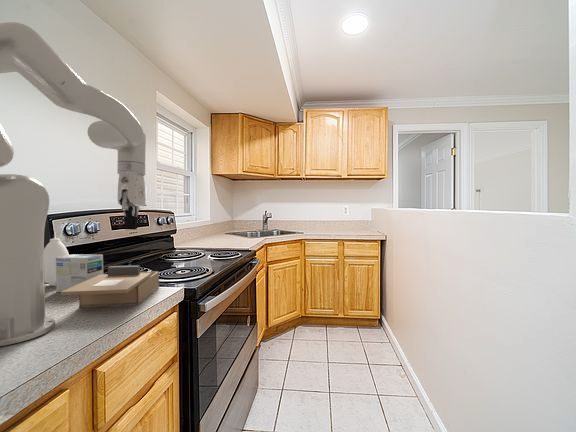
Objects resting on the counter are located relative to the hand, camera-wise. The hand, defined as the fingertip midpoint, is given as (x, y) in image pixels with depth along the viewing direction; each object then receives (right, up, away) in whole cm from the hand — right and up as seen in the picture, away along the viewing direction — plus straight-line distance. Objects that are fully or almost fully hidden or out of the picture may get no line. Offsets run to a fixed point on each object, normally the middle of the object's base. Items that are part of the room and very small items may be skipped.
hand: (130, 229), depth 89 cm
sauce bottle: (-28, -19, +6) cm, 34 cm away
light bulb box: (-16, -19, +1) cm, 25 cm away
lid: (+2, -14, -13) cm, 19 cm away
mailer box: (+1, -19, -6) cm, 20 cm away
